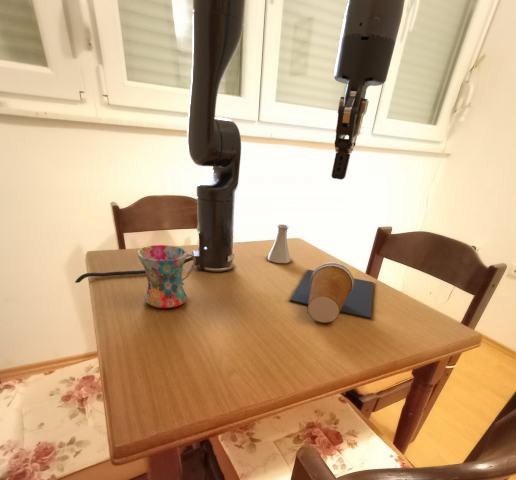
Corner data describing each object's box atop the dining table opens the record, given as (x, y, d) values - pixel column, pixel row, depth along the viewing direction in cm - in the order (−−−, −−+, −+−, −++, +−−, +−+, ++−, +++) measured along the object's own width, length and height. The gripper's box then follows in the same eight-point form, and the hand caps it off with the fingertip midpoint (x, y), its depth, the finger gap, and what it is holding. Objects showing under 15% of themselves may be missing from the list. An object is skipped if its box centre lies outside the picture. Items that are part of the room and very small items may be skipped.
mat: (370, 319, 67) (370, 317, 67) (290, 301, 71) (290, 299, 71) (372, 283, 85) (373, 282, 85) (308, 270, 89) (308, 269, 89)
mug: (157, 316, 61) (151, 263, 55) (135, 298, 66) (128, 248, 60) (208, 301, 68) (207, 253, 62) (185, 286, 73) (182, 240, 67)
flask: (292, 258, 97) (297, 224, 92) (288, 265, 91) (293, 230, 86) (269, 254, 98) (273, 221, 93) (264, 261, 92) (268, 226, 87)
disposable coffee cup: (349, 329, 63) (355, 297, 71) (346, 288, 57) (353, 258, 65) (303, 328, 67) (314, 297, 75) (296, 290, 61) (309, 261, 69)
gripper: (346, 48, 49) (322, 172, 59) (334, 22, 39) (308, 178, 48) (395, 50, 47) (362, 178, 57) (397, 24, 37) (356, 186, 47)
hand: (337, 178), depth 53 cm, fingers closed
